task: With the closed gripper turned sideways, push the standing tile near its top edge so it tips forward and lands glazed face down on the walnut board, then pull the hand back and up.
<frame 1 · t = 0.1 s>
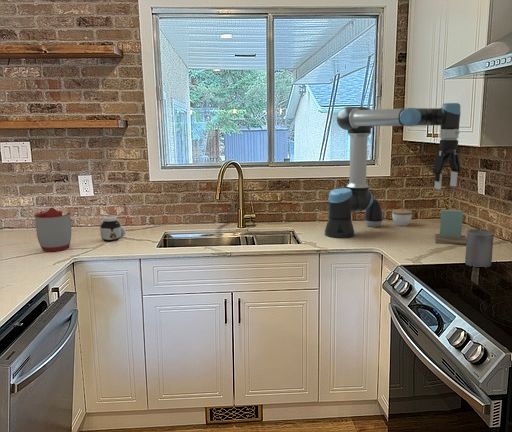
hand: (445, 187, 212), 28 cm above the worktop, tool pointing down, fingers open, 13 cm apart
black rounded cone: (373, 226, 266), on the worktop
spread jar: (113, 239, 243), on the worktop
lidded jar: (401, 225, 268), on the worktop
tile: (451, 223, 236), point 7 cm above the worktop, touching board
pillar candle: (477, 265, 192), on the worktop
board: (450, 239, 232), on the worktop
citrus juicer: (57, 249, 225), on the worktop
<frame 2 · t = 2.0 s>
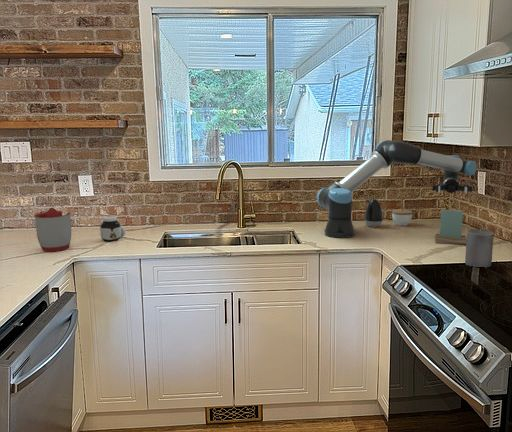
hand: (452, 190, 242), 22 cm above the worktop, tool horizontal, fingers open, 12 cm apart
nothing on the worktop moved.
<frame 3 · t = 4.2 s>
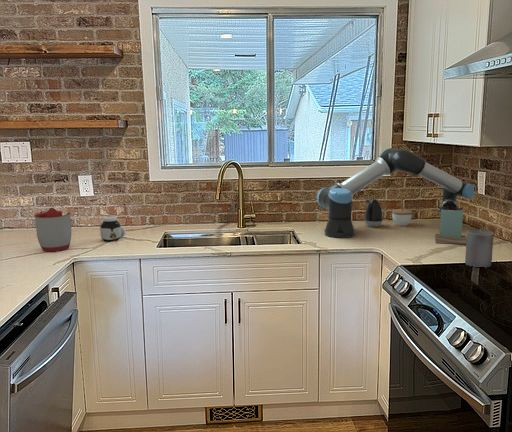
hand: (451, 215, 242), 10 cm above the worktop, tool horizontal, fingers closed
nothing on the worktop moved.
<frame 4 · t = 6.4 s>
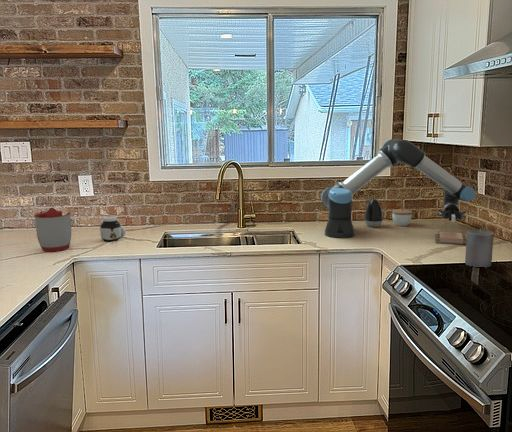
hand: (453, 219, 232), 10 cm above the worktop, tool horizontal, fingers closed
tile: (451, 237, 230), point 2 cm above the worktop, tilted 90°, touching board
everything else where it was.
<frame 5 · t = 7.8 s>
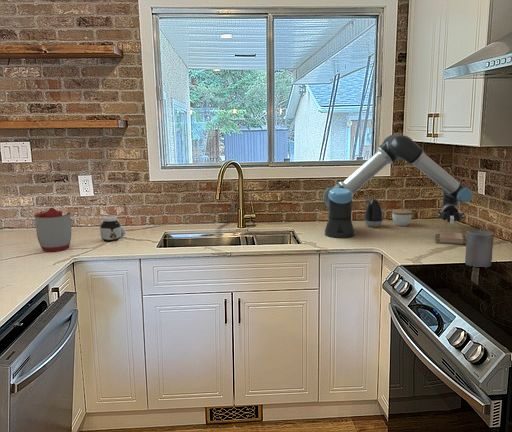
hand: (452, 221, 228), 10 cm above the worktop, tool horizontal, fingers closed
nothing on the worktop moved.
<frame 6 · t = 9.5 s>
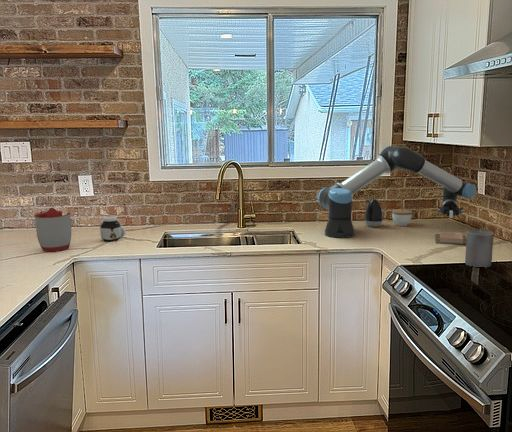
hand: (451, 215, 240), 10 cm above the worktop, tool horizontal, fingers closed
nothing on the worktop moved.
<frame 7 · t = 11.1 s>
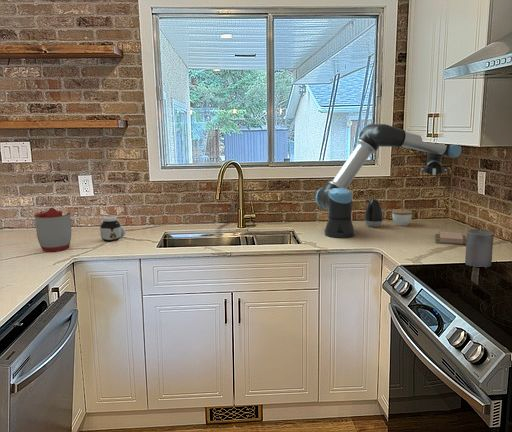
hand: (434, 172, 239), 32 cm above the worktop, tool horizontal, fingers closed
nothing on the worktop moved.
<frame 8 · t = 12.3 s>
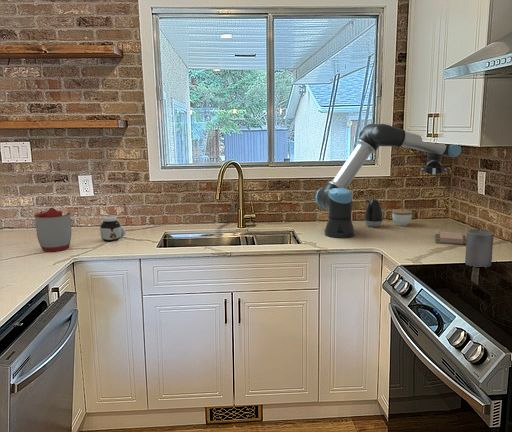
hand: (434, 171, 239), 32 cm above the worktop, tool horizontal, fingers closed
nothing on the worktop moved.
at the end: tile tilted 90°; tile inside the target area on the board (0.5 cm from its centre), point 1.7 cm above the board's base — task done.
